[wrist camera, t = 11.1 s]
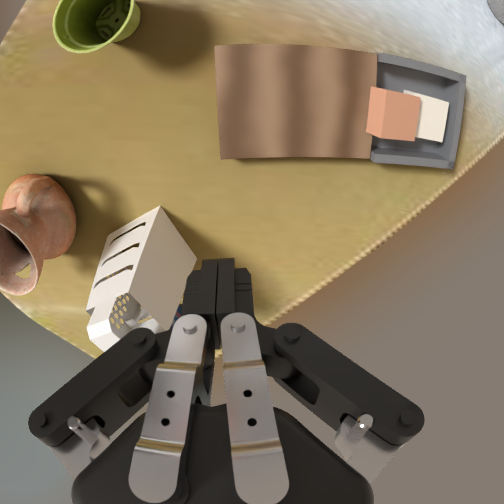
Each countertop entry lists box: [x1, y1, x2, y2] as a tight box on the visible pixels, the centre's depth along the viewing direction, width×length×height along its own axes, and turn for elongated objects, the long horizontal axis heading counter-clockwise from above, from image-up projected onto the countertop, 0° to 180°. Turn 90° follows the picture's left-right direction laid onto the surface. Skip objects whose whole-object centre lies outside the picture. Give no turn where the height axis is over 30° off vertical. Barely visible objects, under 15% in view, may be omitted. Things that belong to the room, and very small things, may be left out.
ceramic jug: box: [0, 174, 77, 295], centre depth 34 cm, size 18×14×14 cm
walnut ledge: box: [215, 44, 377, 159], centre depth 33 cm, size 19×14×3 cm
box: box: [370, 53, 466, 169], centre depth 33 cm, size 14×14×4 cm
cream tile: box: [403, 90, 449, 142], centre depth 33 cm, size 6×6×3 cm
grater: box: [86, 206, 197, 352], centre depth 37 cm, size 10×10×20 cm
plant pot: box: [53, 0, 141, 53], centre depth 22 cm, size 9×9×9 cm
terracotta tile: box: [366, 86, 421, 141], centre depth 31 cm, size 6×6×3 cm
